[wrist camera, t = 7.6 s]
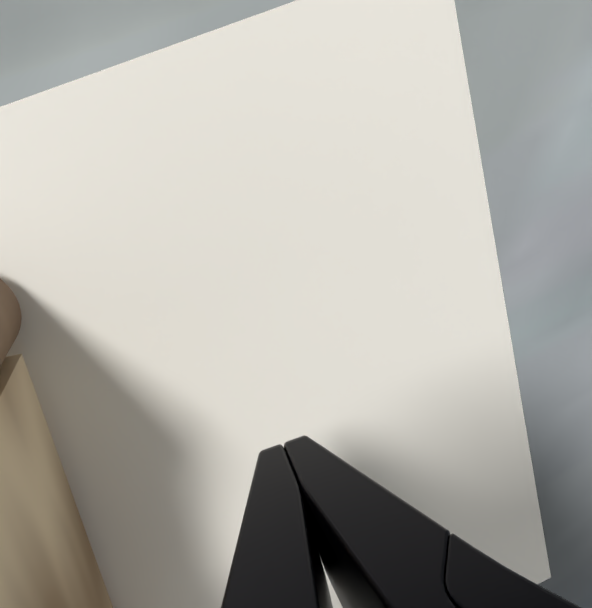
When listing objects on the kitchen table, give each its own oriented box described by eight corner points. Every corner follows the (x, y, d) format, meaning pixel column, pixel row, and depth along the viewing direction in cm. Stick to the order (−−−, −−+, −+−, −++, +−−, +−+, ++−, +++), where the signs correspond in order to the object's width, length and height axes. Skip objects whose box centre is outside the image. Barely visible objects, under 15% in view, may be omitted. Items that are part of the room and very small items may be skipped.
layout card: (-177, 936, 16) (-186, 961, 15) (-1091, 500, 8) (-1169, 526, 7) (543, 567, 18) (553, 579, 18) (434, -48, 10) (448, -54, 10)
